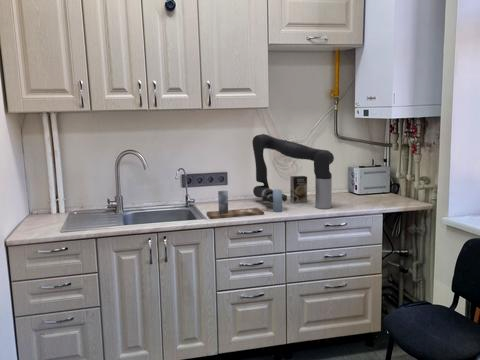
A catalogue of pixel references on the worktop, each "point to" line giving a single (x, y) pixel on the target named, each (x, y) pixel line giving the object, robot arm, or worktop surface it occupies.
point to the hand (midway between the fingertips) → (278, 200)
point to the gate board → (227, 213)
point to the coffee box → (298, 189)
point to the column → (277, 200)
